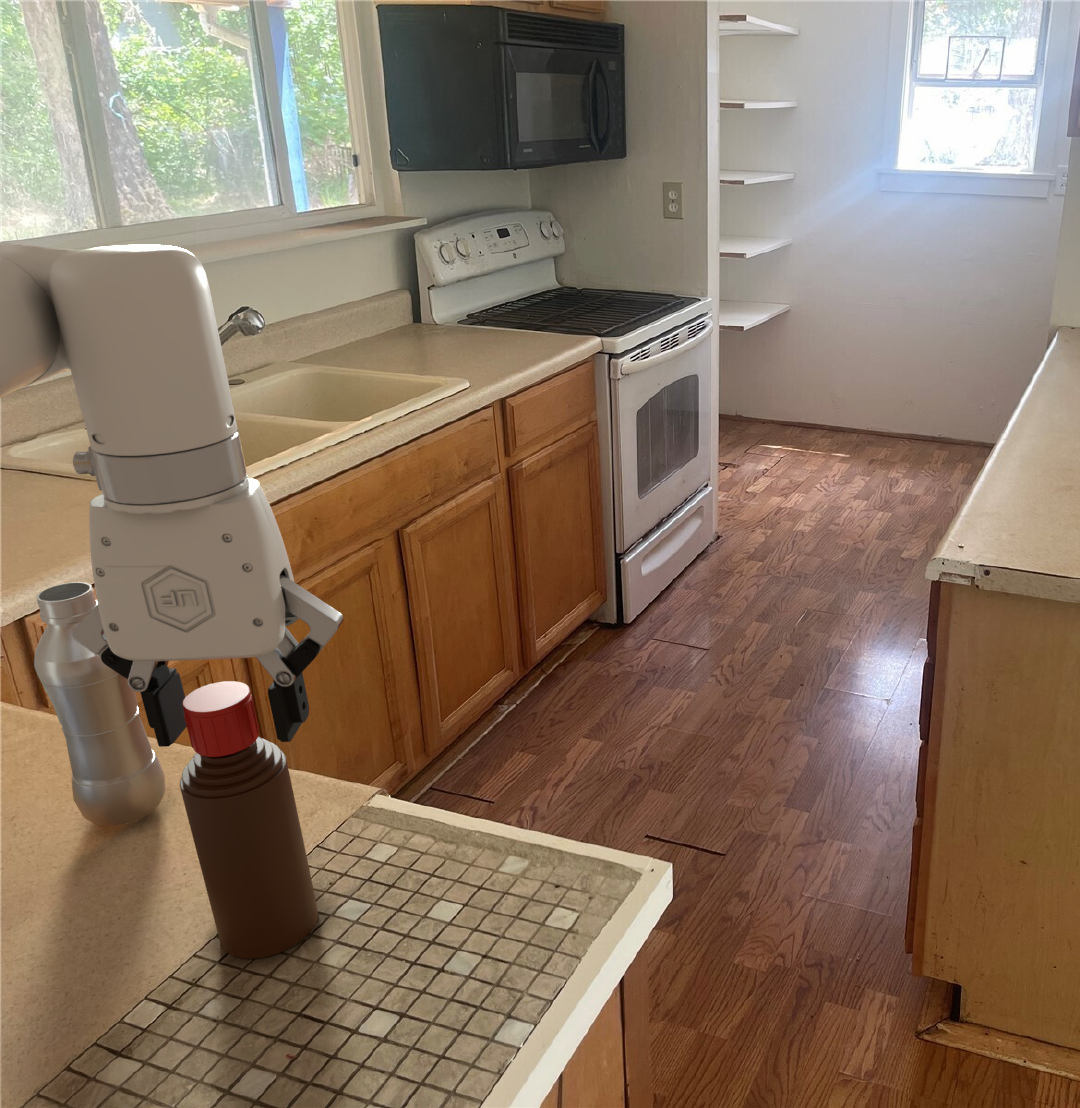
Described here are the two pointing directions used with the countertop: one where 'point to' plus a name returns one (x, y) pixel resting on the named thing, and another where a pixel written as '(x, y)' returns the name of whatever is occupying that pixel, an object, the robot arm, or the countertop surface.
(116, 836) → the countertop surface
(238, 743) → the cap
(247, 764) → the sauce bottle
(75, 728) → the silver water bottle
